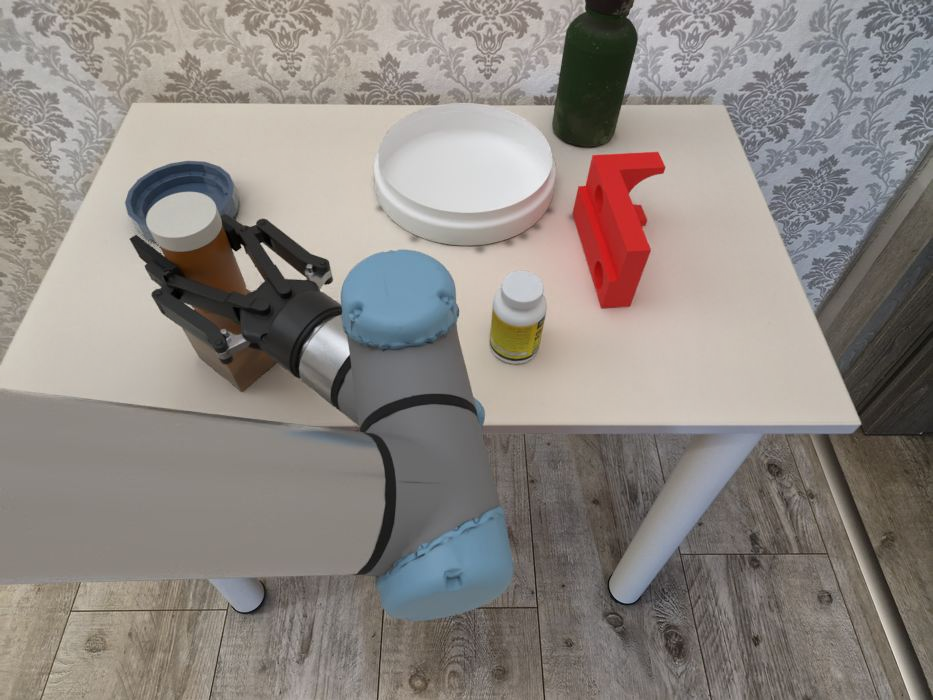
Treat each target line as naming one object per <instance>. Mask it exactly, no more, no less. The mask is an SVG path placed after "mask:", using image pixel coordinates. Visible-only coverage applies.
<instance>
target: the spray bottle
mask: <svg viewBox="0 0 933 700" xmlns="http://www.w3.org/2000/svg"><path fill="white" fill-rule="evenodd" d="M584 2H585V6H584V10H585V11H584V12H582V13H580V14H579V15H578V16H577V17H575V18H574V19H573V20H572V21H571V22H570V23H569V25H568V26H567V28H566V31H565V36H564V37H565V38H564V44H563V50H562V57H561V62H560V63H561V64H560V69H559V77H558V82H557V83H558V84H557V88H556V89H557V90H556V97H555V103H554V109H553V114H552V123H551V124H552V125H551V126H552V130H553V133H554V134H556V135H557V136H558V137H559V138H560V139H561V140H563V142H566V143H569V144H571V145H574V146H578V147H597V146H600V145H603V144H606V143H607V142H609V141H610V140H611V139H612V138H613V137H614V135H615V133H616V129H617V125H618V121H619V117H620V113H621V109H622V105H623V103H624V102H623V101H624V97H625V95H626V94H625V93H626V89H627V85H628V81H629V78H630V73H631V69H632V65H633V61H634V58H635V54H636V50H637V46H638V41H639V37H638V31H637V29H636V26H635V25H634V23H633V21H632V20H631V19H629V18H628V16H629V15H630V12H631V9H633V8H634V3H635V0H584Z"/></svg>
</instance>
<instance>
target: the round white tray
mask: <svg viewBox="0 0 933 700" xmlns="http://www.w3.org/2000/svg"><path fill="white" fill-rule="evenodd" d="M373 177H374V187H375V193H376V196H377V200H378V202H379V204H380V206H381V208H382V210H383V211H384V212H385V213H386V215H387V216H388V218H390V219H391V221H393V223H395V224H397V225H398V226H399V227H400V228H402V229H404V230H405V231H406V232H409V233H411V234H412V235H414V236H417V237H419V238H421V239H424V240H427V241H431V242H435V243H440V244H443V245H452V246H465V247H466V246H483V245H489V244H495V243H499V242H502V241H505V240H508V239H511V238H514V237H516V236H518V235H520V234H522V233H524V232H526V231H527V230H528V229H530V228H532V227H533V226H534V225H535V224H536V223H538V222H539V220H540V219H542V217H543V216H544V215H545V213H546V212H547V210H548V209H549V207H550V205H551V202H552V199H553V195H554V191H555V190H554V189H555V185H556V184H555V183H556V178H557V168H556V162H555V159H554V156H553V153H552V149H551V146H550V144H549V142H548V140H547V138H546V137H545V135H544V134H543V132H541V131H540V129H539V128H538V127H536V126H535V124H533V123H532V122H531V121H529V120H528V119H526V118H524V117H522V116H521V115H518V114H517V113H514V112H512V111H510V110H507V109H504V108H501V107H497V106H493V105H489V104H483V103H475V102H451V103H443V104H442V103H441V104H436V105H433V106H428V107H425V108H421V109H419V110H416V111H414V112H412V113H410V114H408V115H406V116H404V117H403V118H401V119H400V120H398V121H397V122H396V123H395V124H393V125H392V126H391V127H390V128H389V129H388V130H387V131H386V133H385V134H384V136H383V137H382V139H381V141H380V144H379V147H378V150H377V152H376V154H375V158H374V162H373Z"/></svg>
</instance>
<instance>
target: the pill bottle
mask: <svg viewBox="0 0 933 700" xmlns="http://www.w3.org/2000/svg"><path fill="white" fill-rule="evenodd" d="M544 287H545V286H544V282H543V281H542V279H541V278H540V277H539V276H538V275H537V274H535V273H533V272H532V271H528V270H514V271H512V272H509V273H508V274H506V275H505V276H504V278H503V279H502V281H501V284H500V288H499V289H498V290H497V291H496V293H495V295H494V296H493V300H492V308H491V319H490V329H489V348H490V350H491V352H492V353H493V355H494V356H495V357H496V358H497V359H499V360H500V361H502V362H505V363H507V364H513V365H519V364H525V363H527V362H530V360H532V359H533V358H534V357H536V355H537V353H538V351H539V349H540V346H541V345H540V344H541V340H542V334H543V330H544V324H545V321H546V315H547V310H548V303H547V299H546V297H545V295H544V292H545V291H544V289H545V288H544Z"/></svg>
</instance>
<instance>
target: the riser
mask: <svg viewBox="0 0 933 700" xmlns="http://www.w3.org/2000/svg"><path fill="white" fill-rule="evenodd" d="M250 292H252V291H251V290H249V289H248V288H246V293H245V295H247V294H248V293H250ZM193 310H195V309H194V308H193ZM195 311H196V312H198V313H199V314H201V315H202V316H204V317H205V318H207V319H208V320H210V321H211V322H213V323H214V324H215V325H216V326H217V327H218V328H219V330H222V329H226V330H227V331H230V332H232V333H233V334H236V335H238V334H241V325H238V324H236V323H235V322H233V321H232V320H231V319H229V318H226V317H223V316H220V315H217V314H205V313H201V312H199V311H197V310H195ZM181 329H182V331H183V332H184V334H185V336H186V338H187V340H188V341H189V343H190V344H191V346H192V347H193V350H194V352H195V353H196V354H197V356H198V358H200V360H202V361H203V362H204V363H205V364H207V365H208V366H209V367H210V368H212V369H213V370H214V371H215V372H216V373H218V375H220V376H221V377H222V378H224V379H225V380H226V381H227V382H228V383H230V384H231V385H232V386H234V388H235V389H237V390H238V391H239V392H240V393H243V392H244V391H245V390H246V389H247V388H249V387H250V386H251V385H253V384H254V383H255V382H256V381H257V380H259V379H260V378H261V377H262V376H263V375H265V374H266V373H267V372H268V371H269V370H271V369H272V368H273V367H274V366H275V365H277V364H278V363H277V362H276V361H275V360H273V359H272V358H271V357H270V356H268V355H267V354H266V353H265V352H263V351H260V350H255V349H251V348H249V347H247V348H245V349H243V350H241V351H239V352H237V353H235V354H233V356H234V360H233V361H232V362H231V363H229V364H222V363H221V362H220V360H219V358H218V357H217V355H216V353H215V351H214V350H213V349H212V348H211V347H209V346H208V345H206V344H205V343H204V342H202V341H201V340H199V339H198V338H196V337H195V336H193V335H192V334H191V333H189V332H188V331H186V330H185V329H183V328H182V327H181Z"/></svg>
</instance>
